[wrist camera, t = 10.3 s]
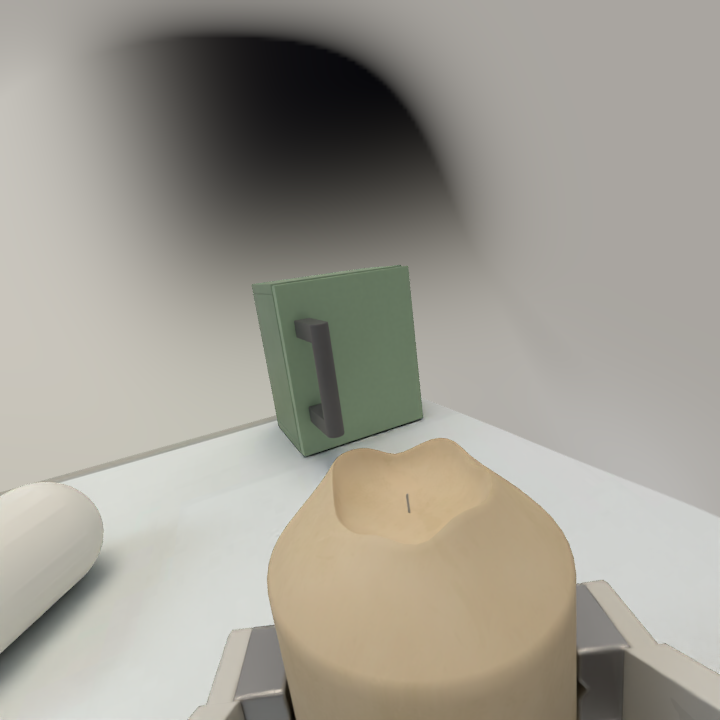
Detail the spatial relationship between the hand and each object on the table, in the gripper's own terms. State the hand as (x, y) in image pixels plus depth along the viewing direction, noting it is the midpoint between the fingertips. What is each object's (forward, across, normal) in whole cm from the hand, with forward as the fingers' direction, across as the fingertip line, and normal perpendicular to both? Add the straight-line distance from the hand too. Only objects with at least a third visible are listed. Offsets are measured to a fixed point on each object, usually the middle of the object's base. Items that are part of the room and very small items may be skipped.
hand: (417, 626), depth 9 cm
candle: (-1, 0, +6) cm, 6 cm away
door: (+30, 0, +10) cm, 31 cm away
